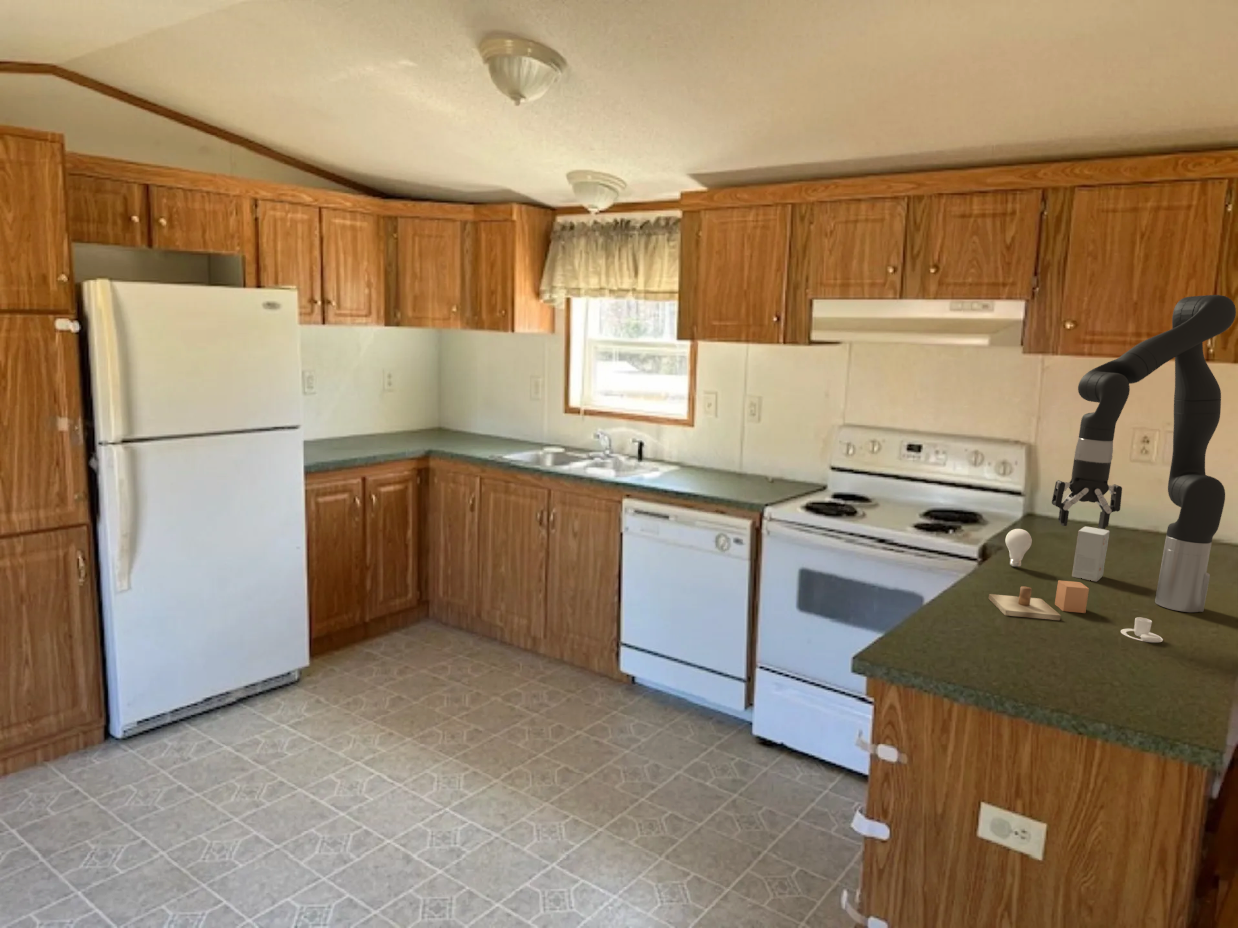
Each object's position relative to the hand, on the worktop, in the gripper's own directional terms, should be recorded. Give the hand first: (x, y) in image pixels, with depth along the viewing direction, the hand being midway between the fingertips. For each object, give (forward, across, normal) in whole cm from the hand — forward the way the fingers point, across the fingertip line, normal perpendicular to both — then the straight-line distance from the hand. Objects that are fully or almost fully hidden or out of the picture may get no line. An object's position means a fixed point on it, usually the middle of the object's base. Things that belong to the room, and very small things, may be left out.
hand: (1082, 526), depth 196 cm
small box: (+20, -17, -32) cm, 41 cm away
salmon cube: (+20, 0, 0) cm, 20 cm away
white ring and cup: (+21, -6, +17) cm, 28 cm away
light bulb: (+20, +1, -35) cm, 40 cm away
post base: (+20, +12, +4) cm, 24 cm away
